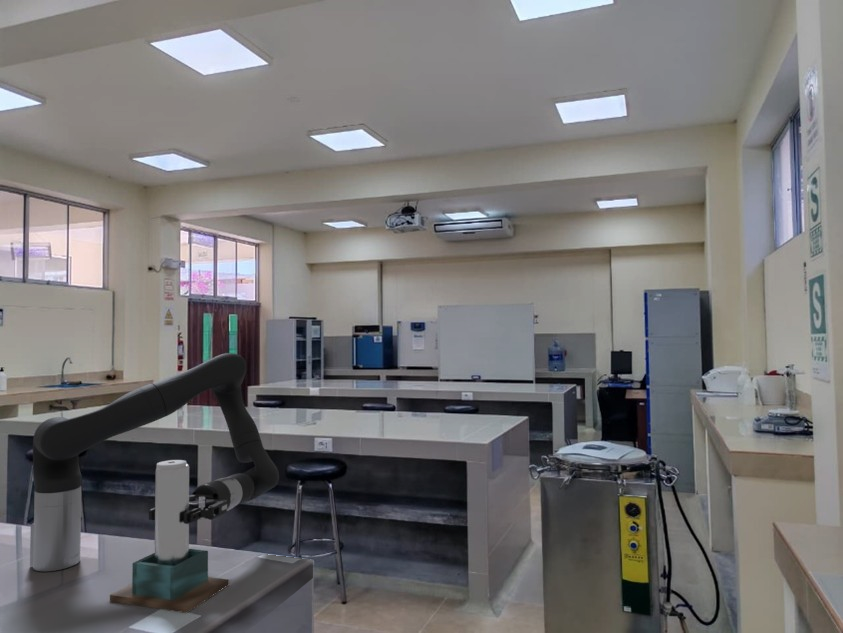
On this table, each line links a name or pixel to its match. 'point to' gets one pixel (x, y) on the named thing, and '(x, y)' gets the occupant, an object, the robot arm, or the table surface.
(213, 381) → the robot arm
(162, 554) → the silver metal cylinder
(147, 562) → the cup stand
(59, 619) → the table surface
